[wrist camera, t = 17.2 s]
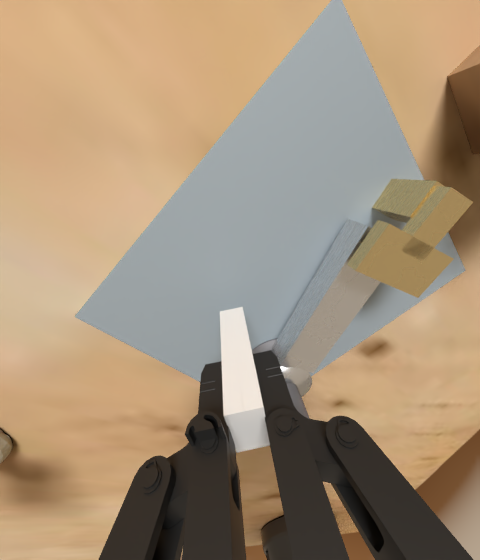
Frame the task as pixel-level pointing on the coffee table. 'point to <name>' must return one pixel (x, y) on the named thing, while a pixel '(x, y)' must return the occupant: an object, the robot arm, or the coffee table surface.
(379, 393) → the coffee table surface
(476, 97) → the block
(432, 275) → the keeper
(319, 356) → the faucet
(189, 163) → the coffee table surface
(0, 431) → the figurine
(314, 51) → the board
